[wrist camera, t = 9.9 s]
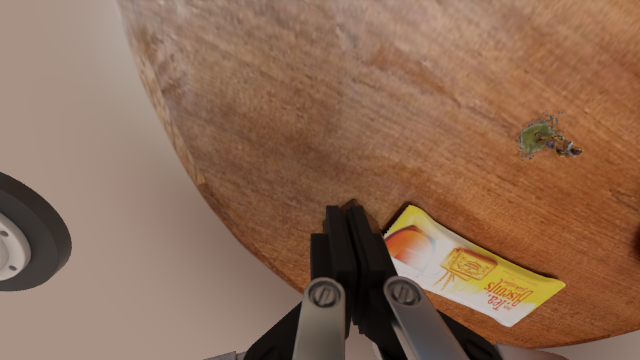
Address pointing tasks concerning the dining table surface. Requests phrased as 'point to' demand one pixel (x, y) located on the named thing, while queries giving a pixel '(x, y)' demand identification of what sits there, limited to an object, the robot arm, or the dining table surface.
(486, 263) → the food package
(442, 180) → the dining table surface
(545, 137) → the soldier figurine
